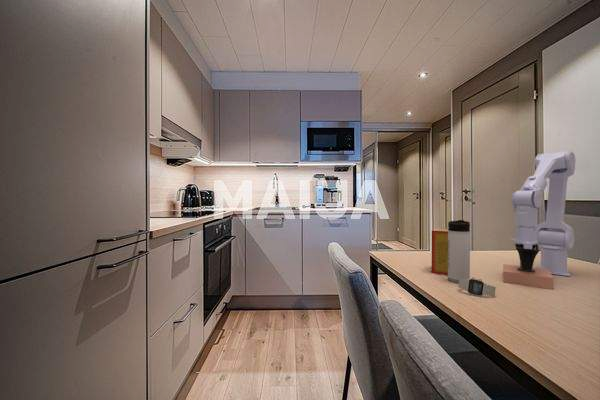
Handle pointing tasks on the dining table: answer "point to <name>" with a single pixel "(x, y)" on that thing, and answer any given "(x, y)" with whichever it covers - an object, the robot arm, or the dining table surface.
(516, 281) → the socket block
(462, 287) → the wristwatch
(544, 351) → the dining table surface
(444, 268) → the baking soda box
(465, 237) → the travel mug
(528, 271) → the peg
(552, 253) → the robot arm
